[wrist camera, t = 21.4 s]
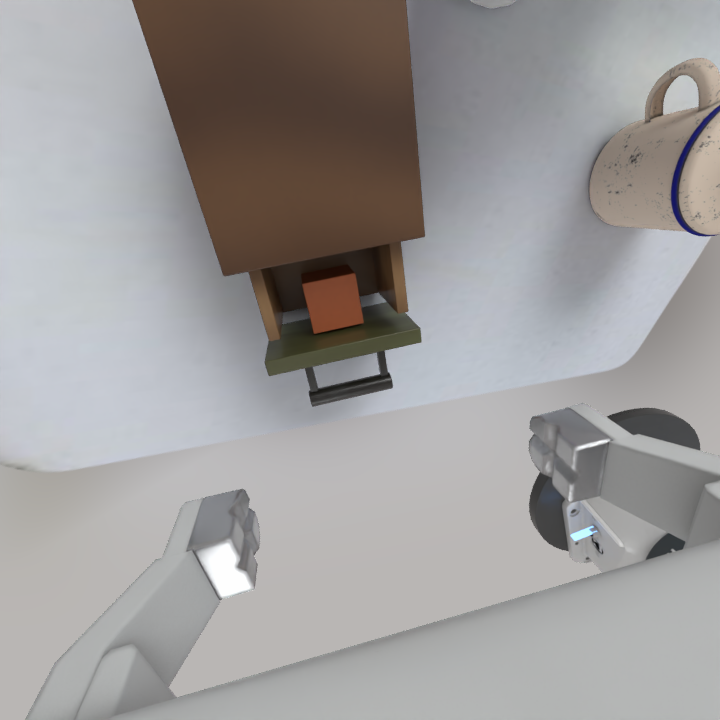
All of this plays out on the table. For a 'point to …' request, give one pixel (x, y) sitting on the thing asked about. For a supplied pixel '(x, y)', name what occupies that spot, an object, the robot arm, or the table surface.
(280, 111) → the cabinet
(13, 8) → the table surface
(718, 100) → the teacup with lid
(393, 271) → the drawer
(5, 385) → the table surface
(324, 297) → the block
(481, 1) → the supplement can
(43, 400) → the table surface
